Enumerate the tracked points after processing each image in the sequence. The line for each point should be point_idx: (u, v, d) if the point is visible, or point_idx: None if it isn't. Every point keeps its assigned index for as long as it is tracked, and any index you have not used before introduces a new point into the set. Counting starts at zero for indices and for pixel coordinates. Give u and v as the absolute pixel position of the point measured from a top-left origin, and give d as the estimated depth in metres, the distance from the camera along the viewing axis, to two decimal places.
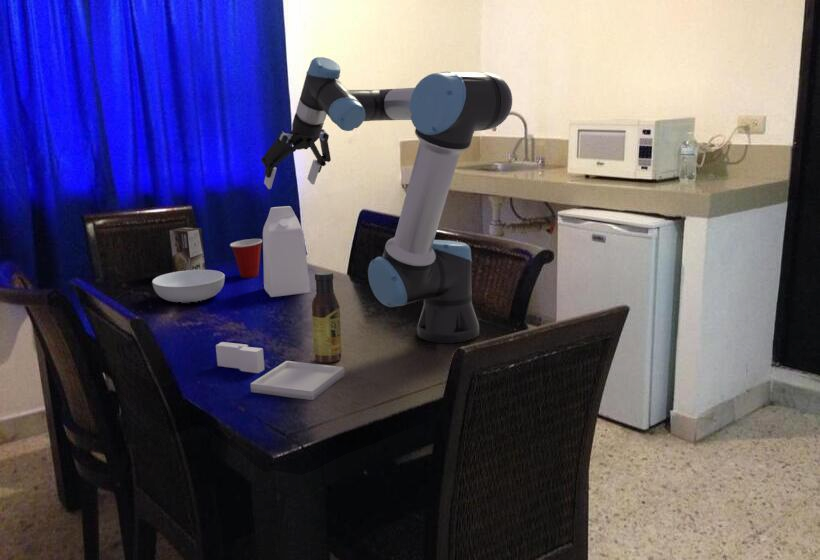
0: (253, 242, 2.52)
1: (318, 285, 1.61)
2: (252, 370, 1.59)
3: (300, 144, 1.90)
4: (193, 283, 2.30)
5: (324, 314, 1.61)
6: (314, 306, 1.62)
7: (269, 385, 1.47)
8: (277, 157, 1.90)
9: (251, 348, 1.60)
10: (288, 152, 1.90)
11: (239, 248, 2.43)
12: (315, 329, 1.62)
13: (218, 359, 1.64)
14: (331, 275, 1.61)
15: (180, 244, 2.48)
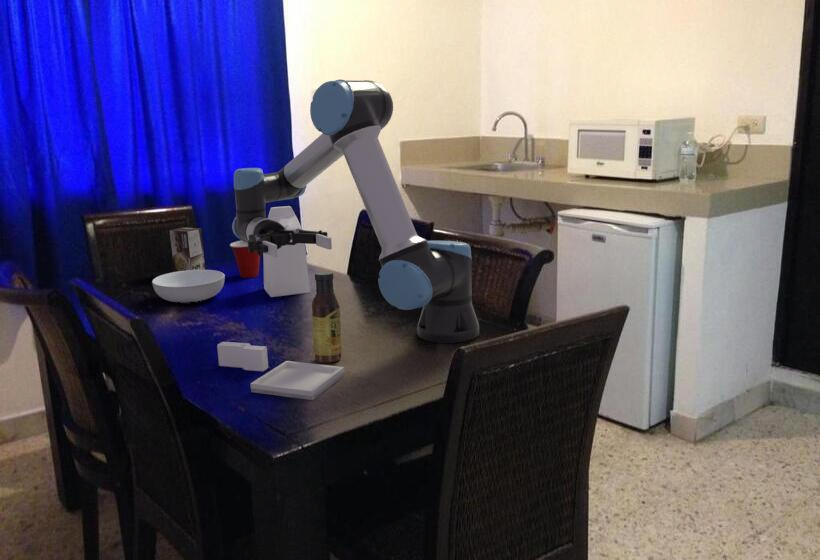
0: None
1: (318, 285, 1.61)
2: (256, 368, 1.60)
3: (270, 231, 1.79)
4: (193, 283, 2.30)
5: (324, 314, 1.61)
6: (314, 306, 1.62)
7: (269, 385, 1.47)
8: None
9: (255, 346, 1.61)
10: (266, 237, 1.75)
11: (239, 248, 2.43)
12: (315, 329, 1.62)
13: (220, 359, 1.64)
14: (331, 275, 1.61)
15: (180, 244, 2.48)
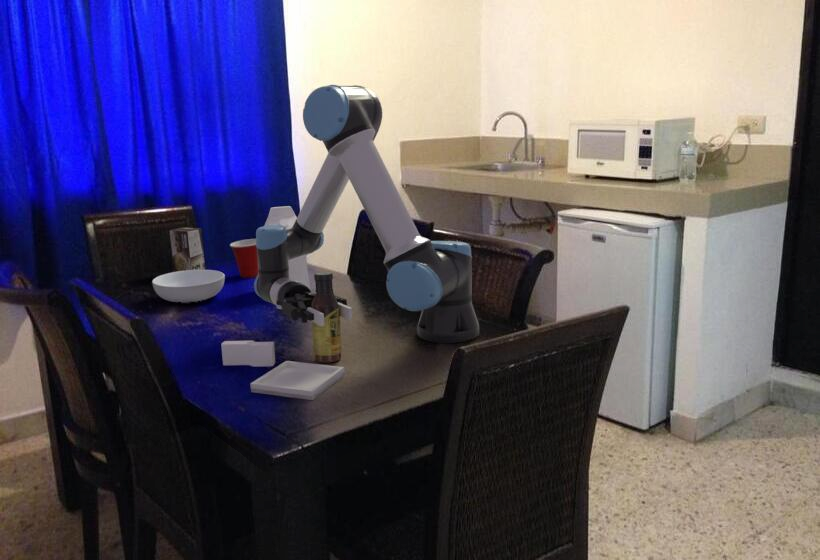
0: (253, 242, 2.52)
1: (317, 285, 1.61)
2: (266, 364, 1.63)
3: (297, 295, 1.71)
4: (193, 283, 2.30)
5: (324, 314, 1.61)
6: (313, 306, 1.61)
7: (269, 385, 1.47)
8: (299, 308, 1.65)
9: (262, 343, 1.63)
10: (300, 302, 1.68)
11: (239, 248, 2.43)
12: (314, 329, 1.62)
13: (224, 358, 1.64)
14: (330, 275, 1.61)
15: (180, 244, 2.48)
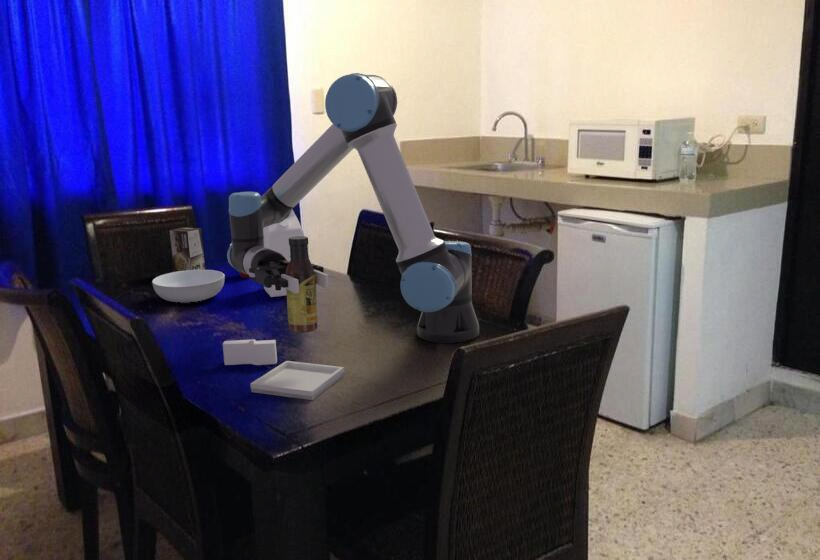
0: None
1: (292, 250, 1.52)
2: (269, 362, 1.64)
3: (271, 263, 1.62)
4: (193, 283, 2.30)
5: (299, 280, 1.52)
6: (287, 273, 1.53)
7: (269, 385, 1.47)
8: (273, 276, 1.56)
9: (264, 341, 1.64)
10: (274, 269, 1.59)
11: None
12: (289, 297, 1.54)
13: (225, 358, 1.64)
14: (306, 240, 1.52)
15: (180, 244, 2.48)
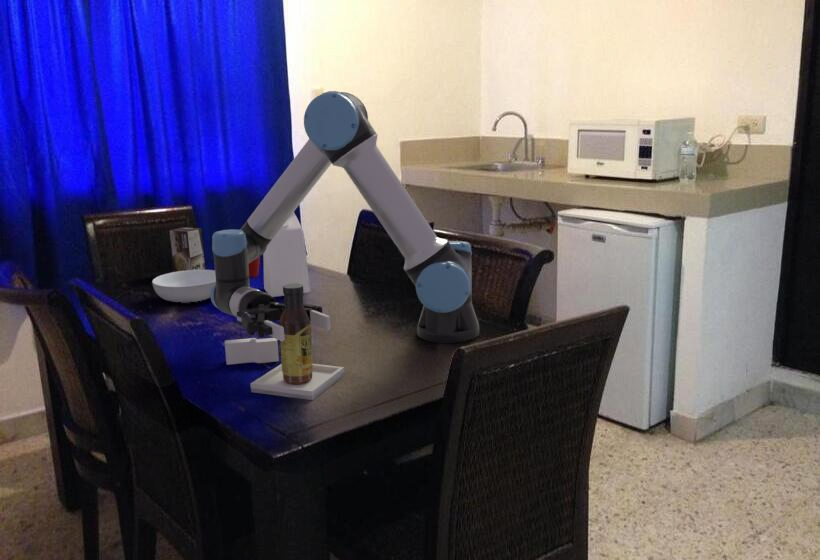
0: None
1: (287, 299, 1.47)
2: (272, 359, 1.66)
3: (261, 306, 1.56)
4: (193, 283, 2.30)
5: (294, 331, 1.46)
6: (282, 322, 1.47)
7: (269, 385, 1.47)
8: None
9: (266, 339, 1.66)
10: (260, 313, 1.53)
11: None
12: (283, 347, 1.48)
13: (227, 357, 1.64)
14: (301, 288, 1.47)
15: (180, 244, 2.48)
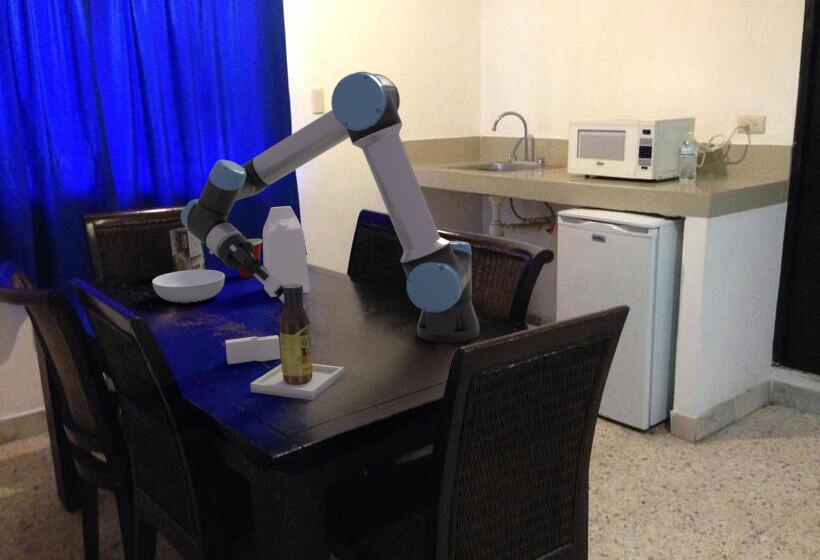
0: (253, 242, 2.52)
1: (286, 299, 1.47)
2: (273, 357, 1.67)
3: (251, 253, 1.65)
4: (193, 283, 2.30)
5: (294, 330, 1.47)
6: (282, 322, 1.47)
7: (269, 385, 1.47)
8: None
9: (267, 337, 1.67)
10: None
11: None
12: (283, 347, 1.48)
13: (229, 357, 1.65)
14: (301, 288, 1.47)
15: (180, 244, 2.48)
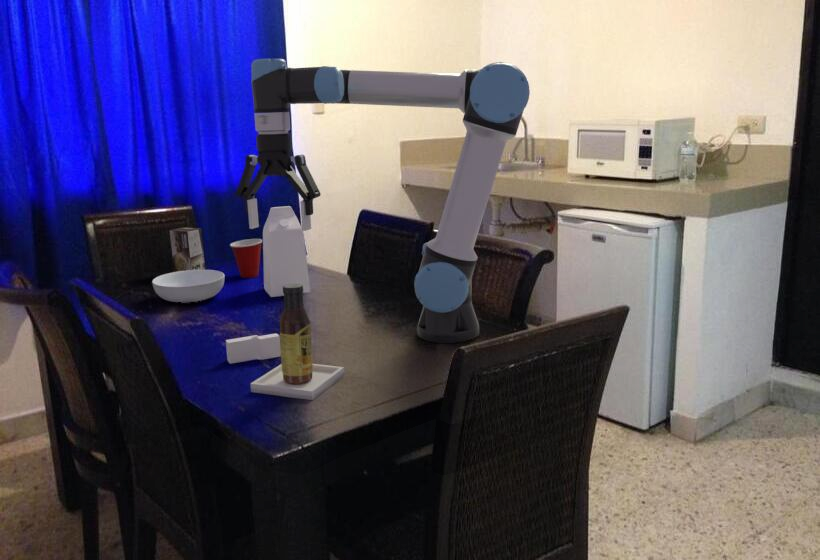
0: (253, 242, 2.52)
1: (287, 299, 1.47)
2: (274, 355, 1.68)
3: None
4: (193, 283, 2.30)
5: (294, 330, 1.47)
6: (282, 322, 1.47)
7: (269, 385, 1.47)
8: (304, 186, 1.62)
9: (267, 335, 1.68)
10: None
11: (239, 248, 2.43)
12: (283, 347, 1.48)
13: (231, 356, 1.65)
14: (301, 288, 1.47)
15: (180, 244, 2.48)
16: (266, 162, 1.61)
